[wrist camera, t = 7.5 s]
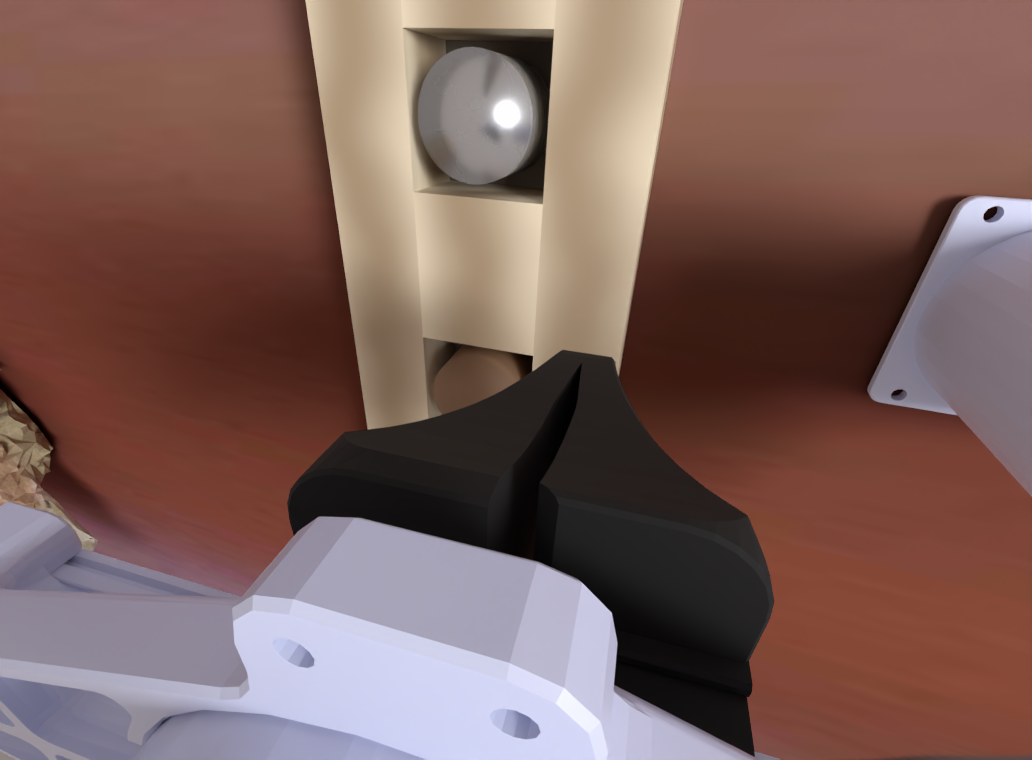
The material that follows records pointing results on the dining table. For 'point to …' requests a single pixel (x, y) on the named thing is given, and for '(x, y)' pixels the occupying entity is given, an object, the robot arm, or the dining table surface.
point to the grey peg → (483, 115)
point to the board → (488, 185)
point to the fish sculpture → (28, 466)
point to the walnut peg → (477, 376)
